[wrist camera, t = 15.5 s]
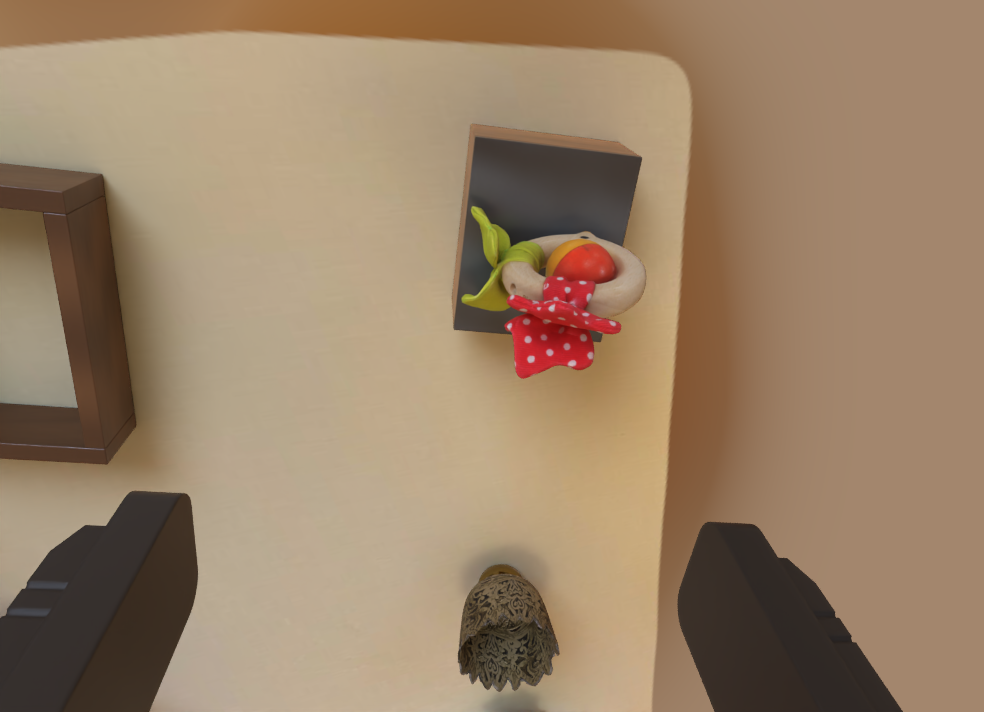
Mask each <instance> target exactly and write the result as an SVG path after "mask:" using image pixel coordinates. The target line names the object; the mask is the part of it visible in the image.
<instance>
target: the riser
mask: <svg viewBox="0 0 984 712" xmlns="http://www.w3.org/2000/svg"><path fill="white" fill-rule="evenodd" d="M641 161H642V157H641V156H639V155H637V154H636V153H634V152H633V151H631V150H630V149H628V148H627V147H625V146H623V145H622V144H620V143H619V142H612V141H604V140H596V139H588V138H580V137H572V136H564V135H556V134H548V133H540V132H532V131H524V130H516V129H508V128H500V127H493V126H485V125H477V124H471V126H470V135H469V144H468V154H467V163H466V172H465V181H464V191H463V200H462V209H461V218H460V228H459V237H458V246H457V255H456V265H455V274H454V283H453V292H452V309H453V328H454V330H465V331H476V332H488V333H500V334H511V335H512V333H511V332H510V331H507V330H506V329H505V324H506V323H507V322H508V321H510V320H511V319H513V318H515V317H517V316H520V315H523V314H526V313H525V312H521V311H518V310H516V309H514V308H512V307H510V308H508V309H506V310H503V311H490V310H485V309H481V308H478V307H473V306H470V305H467V304H464V303H462V300H461V298H462V297H463V296H464V295H465V294H471V295H473V296H476V295H478V293H479V292H480V291H481V289H482V288H483V287H484V285H485V284H486V283H487V282H488V280H489V278H490V276H491V272H492V270H493V269H494V268H493V267H492V266H491V264H490V263H489V262H488V260H487V258H486V256H485V253H484V248H483V239H482V233H481V229H480V225H479V223H478V222H477V221H476V219H475V218H474V217H473V215H472V212H471V208H472V207H473V206H475V207H478V208H482V209H483V211H484V212H485V214H486V216H487V218H488V219H489V221H490V223H491V224H496V225H498V226H499V227H501V228H502V229H503V230H505V232H506V233H507V234H508V236H509V238H510V244H511V247H512V246H514V245H516V244H518V243H520V242H523V241H529V240H533V239H536V238H540V237H545V236H552V235H565V234H578V233H581V232H584V231H588V232H591V233H592V234H593V235H594V236H595V237H597V238H600V239H603V240H606V241H609V242H612V243H614V244H617V245H619V246H621V247H622V246H623V241H624V237H625V232H626V228H627V223H628V219H629V215H630V210H631V206H632V201H633V197H634V192H635V188H636V183H637V179H638V175H639V170H640V166H641ZM538 274H540V275H542V276H543V277H546V276H545V275H546V267H545V268H541V269H540V270H539V272H538ZM605 319H606V318H605ZM589 332H590V334H591V337H592V340H593V342H601V339H602V335H603V333H599V332H596V331H593V330H589Z"/></svg>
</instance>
